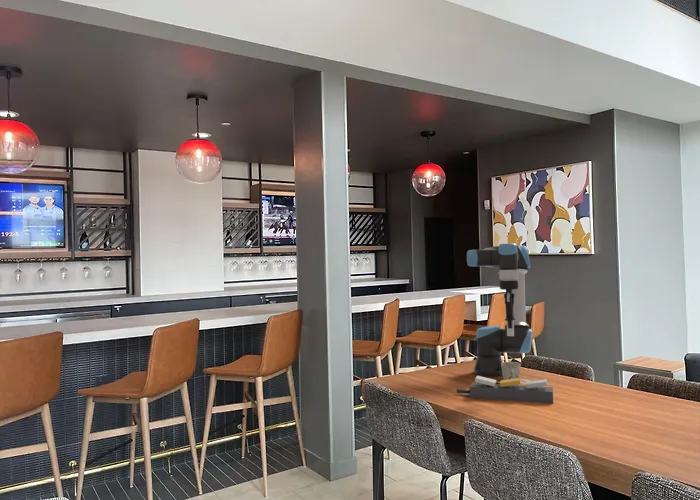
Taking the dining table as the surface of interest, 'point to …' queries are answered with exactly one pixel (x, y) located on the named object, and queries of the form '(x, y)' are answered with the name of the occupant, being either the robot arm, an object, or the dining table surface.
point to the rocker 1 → (485, 381)
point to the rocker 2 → (510, 382)
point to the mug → (510, 370)
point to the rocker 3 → (536, 383)
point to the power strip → (510, 393)
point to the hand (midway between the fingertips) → (510, 335)
